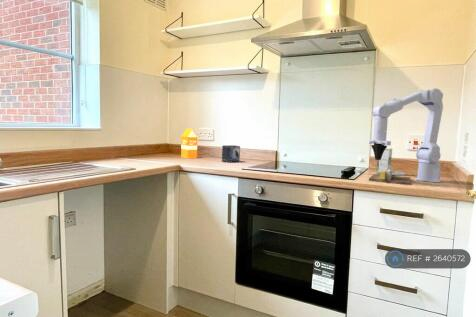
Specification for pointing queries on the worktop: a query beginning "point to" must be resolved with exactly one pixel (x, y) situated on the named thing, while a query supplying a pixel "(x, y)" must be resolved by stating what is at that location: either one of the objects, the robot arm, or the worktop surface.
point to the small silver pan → (384, 172)
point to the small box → (230, 153)
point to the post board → (391, 179)
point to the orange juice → (189, 144)
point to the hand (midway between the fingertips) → (377, 159)
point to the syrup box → (385, 160)
